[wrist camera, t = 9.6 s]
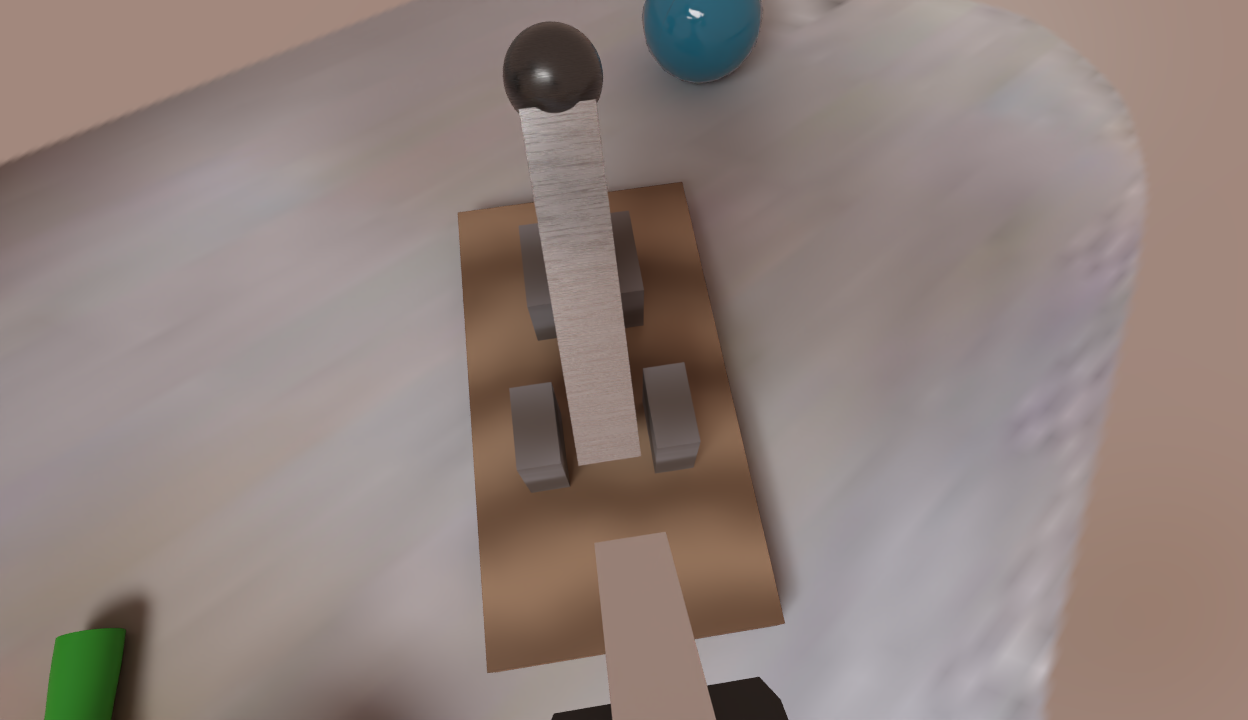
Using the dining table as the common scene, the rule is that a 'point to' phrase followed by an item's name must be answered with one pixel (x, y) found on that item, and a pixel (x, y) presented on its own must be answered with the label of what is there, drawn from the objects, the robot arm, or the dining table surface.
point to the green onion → (85, 674)
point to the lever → (575, 231)
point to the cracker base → (614, 490)
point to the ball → (701, 36)
